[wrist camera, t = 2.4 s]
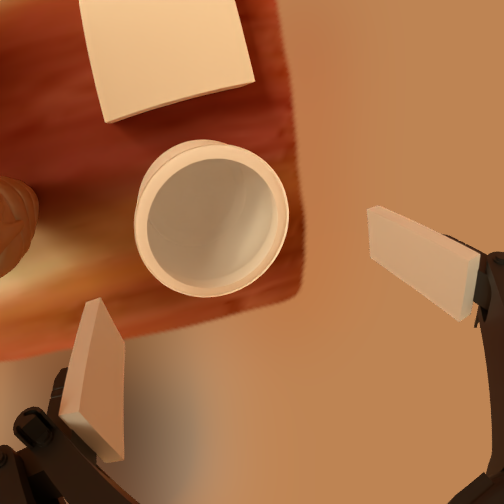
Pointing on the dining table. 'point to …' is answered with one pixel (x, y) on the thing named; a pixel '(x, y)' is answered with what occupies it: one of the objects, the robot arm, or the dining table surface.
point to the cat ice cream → (16, 221)
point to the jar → (209, 218)
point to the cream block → (162, 52)
